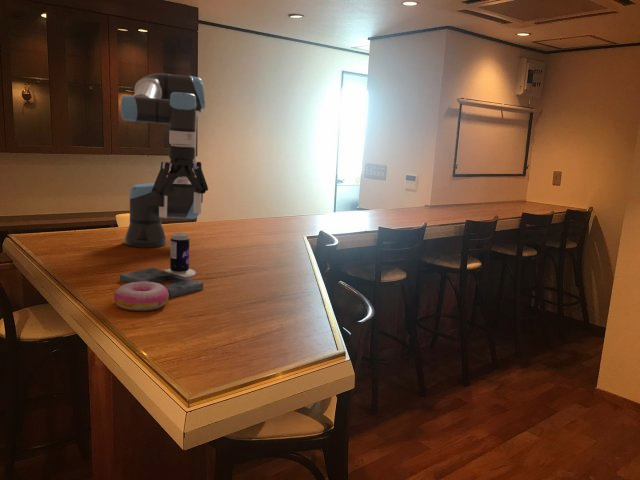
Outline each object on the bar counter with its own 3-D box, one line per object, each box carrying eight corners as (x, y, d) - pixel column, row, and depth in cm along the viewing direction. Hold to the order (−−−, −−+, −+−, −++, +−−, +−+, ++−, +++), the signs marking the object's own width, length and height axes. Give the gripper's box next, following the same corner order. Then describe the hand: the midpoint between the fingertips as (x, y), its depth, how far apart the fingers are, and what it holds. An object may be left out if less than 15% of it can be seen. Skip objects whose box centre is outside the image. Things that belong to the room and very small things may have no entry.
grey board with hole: (119, 281, 153) (119, 274, 153) (153, 273, 163) (153, 267, 163) (170, 298, 141) (170, 291, 141) (203, 289, 151) (203, 282, 151)
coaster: (155, 273, 164) (155, 271, 164) (180, 268, 172) (180, 266, 172) (177, 280, 158) (177, 278, 158) (202, 274, 167) (202, 272, 167)
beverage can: (183, 275, 162) (184, 237, 160) (166, 272, 163) (167, 235, 161) (191, 270, 167) (192, 234, 165) (175, 268, 168) (176, 232, 166)
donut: (126, 295, 142) (126, 277, 141) (175, 299, 142) (175, 281, 141) (105, 311, 129) (105, 292, 128) (158, 315, 128) (159, 296, 128)
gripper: (156, 146, 145) (155, 221, 150) (220, 147, 166) (218, 213, 170) (139, 143, 149) (138, 217, 154) (204, 145, 170) (202, 209, 174)
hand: (180, 215), depth 162 cm, fingers open, 13 cm apart
